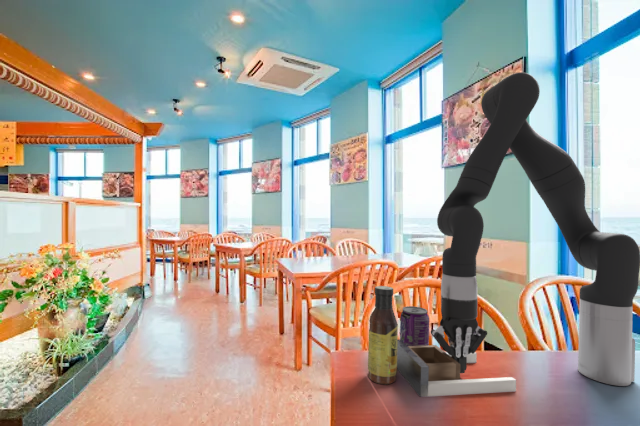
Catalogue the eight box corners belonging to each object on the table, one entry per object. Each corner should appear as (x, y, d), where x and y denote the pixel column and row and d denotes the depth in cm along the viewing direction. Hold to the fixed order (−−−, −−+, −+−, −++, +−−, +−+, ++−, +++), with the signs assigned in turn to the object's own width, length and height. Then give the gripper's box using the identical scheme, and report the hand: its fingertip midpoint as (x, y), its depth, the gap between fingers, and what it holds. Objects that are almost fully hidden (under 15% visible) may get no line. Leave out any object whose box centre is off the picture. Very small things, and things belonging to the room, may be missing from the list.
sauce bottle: (397, 388, 67) (399, 292, 67) (366, 384, 68) (369, 290, 68) (396, 373, 73) (398, 285, 74) (368, 369, 75) (370, 283, 75)
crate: (435, 366, 77) (436, 345, 77) (459, 388, 67) (460, 364, 67) (403, 367, 76) (404, 346, 76) (423, 390, 66) (424, 365, 66)
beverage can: (403, 348, 87) (405, 304, 87) (431, 355, 84) (432, 308, 84) (395, 358, 81) (397, 310, 81) (424, 365, 78) (425, 315, 78)
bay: (473, 361, 81) (473, 337, 81) (516, 392, 67) (516, 362, 67) (393, 364, 78) (393, 339, 78) (420, 397, 64) (421, 367, 64)
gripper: (475, 289, 77) (475, 362, 77) (423, 291, 75) (423, 366, 75) (497, 297, 70) (497, 378, 70) (440, 300, 68) (440, 382, 68)
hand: (458, 371), depth 72 cm, fingers closed
